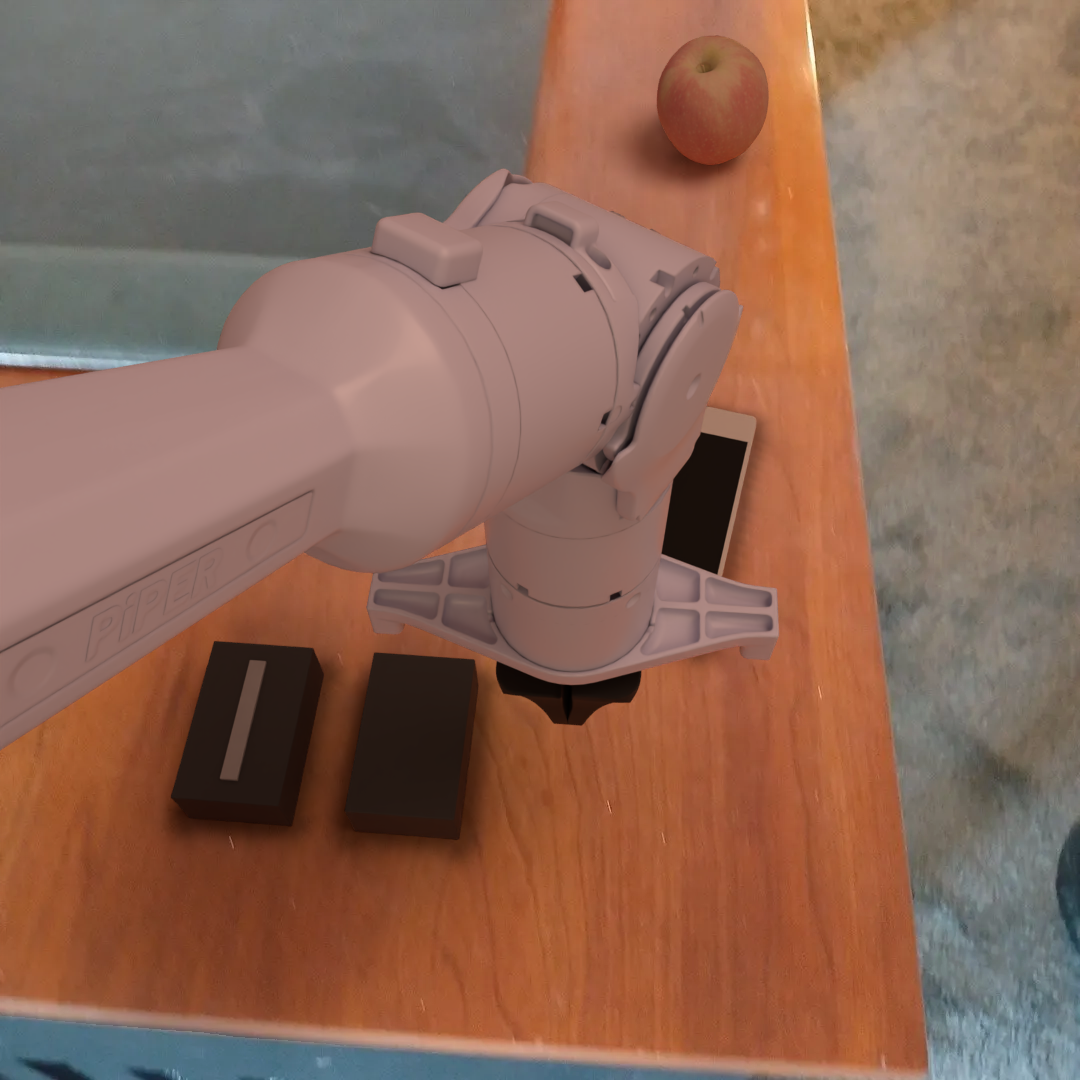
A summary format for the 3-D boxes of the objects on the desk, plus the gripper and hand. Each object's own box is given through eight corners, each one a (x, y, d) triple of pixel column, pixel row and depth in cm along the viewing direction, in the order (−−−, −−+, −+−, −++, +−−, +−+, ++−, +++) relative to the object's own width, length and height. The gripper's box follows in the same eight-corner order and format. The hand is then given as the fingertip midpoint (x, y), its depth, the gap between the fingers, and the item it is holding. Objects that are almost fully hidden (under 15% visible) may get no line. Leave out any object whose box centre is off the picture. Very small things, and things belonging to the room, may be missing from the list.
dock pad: (292, 826, 50) (277, 804, 48) (189, 818, 50) (168, 796, 48) (324, 673, 54) (312, 645, 52) (229, 666, 55) (212, 638, 52)
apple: (650, 117, 79) (659, 14, 72) (753, 117, 78) (772, 14, 72) (653, 188, 74) (663, 85, 68) (762, 189, 74) (783, 86, 67)
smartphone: (756, 425, 63) (759, 415, 62) (704, 651, 55) (707, 643, 54) (638, 400, 64) (639, 390, 63) (571, 618, 56) (571, 610, 55)
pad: (459, 840, 50) (454, 820, 47) (354, 831, 50) (343, 811, 48) (478, 684, 54) (475, 658, 52) (382, 677, 54) (373, 651, 52)
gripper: (797, 444, 36) (738, 631, 47) (371, 419, 36) (415, 609, 48) (808, 630, 32) (741, 784, 43) (332, 598, 33) (390, 758, 44)
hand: (569, 703), depth 45 cm, fingers closed
